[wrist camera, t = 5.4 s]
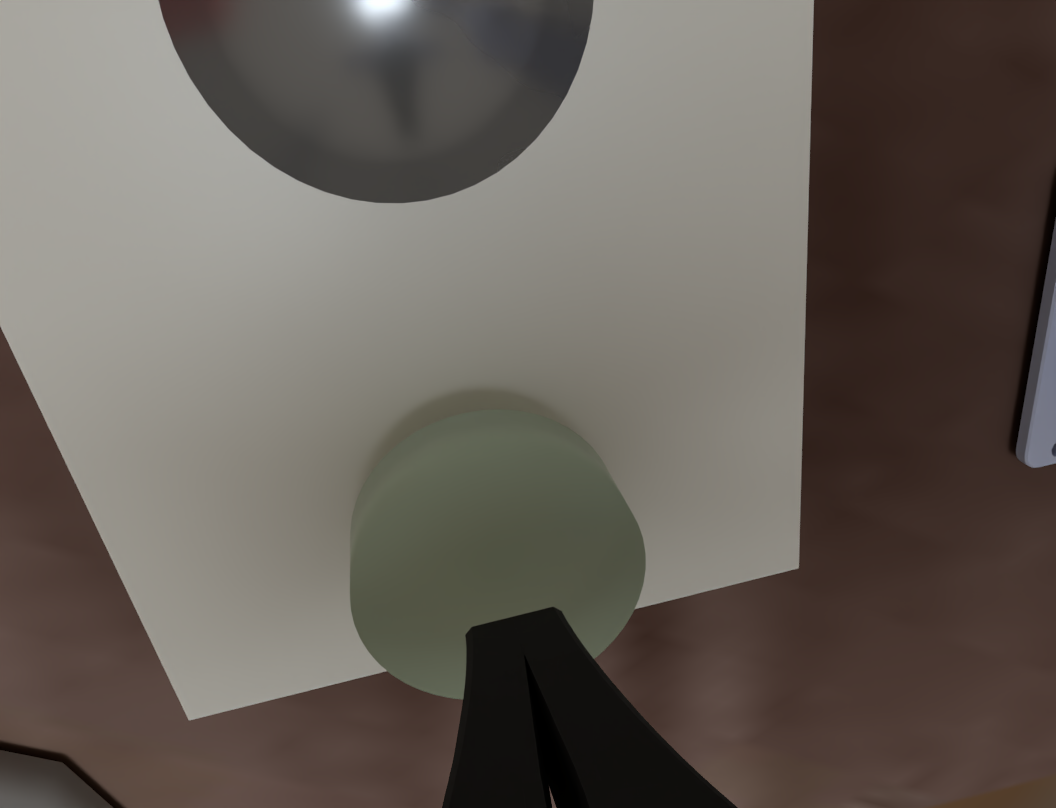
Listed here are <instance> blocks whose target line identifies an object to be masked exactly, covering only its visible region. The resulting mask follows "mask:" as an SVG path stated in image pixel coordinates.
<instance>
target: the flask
mask: <svg viewBox="0 0 1056 808" xmlns="http://www.w3.org/2000/svg"><path fill="white" fill-rule="evenodd" d="M0 808H113V807H112V806H111V805H110V804H109V803H107V802H106V801H105V800H104V799H103V798H102V797H101V796H100V795H98V794H97V793H96V792H95V791H94V790H93V789H92V788H91V787H89V786H88V785H87V784H86V783H85V782H84V781H83V780H82V779H80V778H79V777H78V776H77V775H76V774H75V773H74V772H73V771H71V770H70V769H69V768H68V767H67V766H66V765H65V764H64V763H62V762H58V761H53V760H48V759H43V758H38V757H33V756H28V755H23V754H18V753H13V752H8V751H3V750H0Z"/></svg>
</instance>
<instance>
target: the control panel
mask: <svg viewBox="0 0 1056 808" xmlns="http://www.w3.org/2000/svg"><path fill="white" fill-rule="evenodd" d="M813 12H814V0H594V1H593V13H592V19H591V24H590V29H589V34H588V39H587V44H586V47H585V50H584V53H583V56H582V59H581V62H580V66H579V69H578V71H577V73H576V76H575V78H574V80H573V82H572V84H571V87H570V89H569V91H568V93H567V95H566V97H565V99H564V100H563V102H562V104H561V105H560V107H559V109H558V110H557V112H556V114H555V115H554V117H553V118H552V120H551V121H550V122H549V123H548V125H547V126H546V127H545V129H544V130H543V131H542V132H541V134H540V135H539V136H538V137H537V139H536V140H535V141H534V142H533V143H532V144H531V145H530V146H529V147H528V148H526V149H525V150H524V151H523V152H522V153H521V154H520V155H519V156H518V157H517V158H516V159H515V160H513V161H512V162H511V163H509V164H508V165H507V166H505V167H504V168H503V169H501V170H500V171H499V172H497V173H496V174H494V175H492V176H490V177H488V178H487V179H485V180H483V181H481V182H480V183H478V184H476V185H474V186H471V187H469V188H466V189H464V190H461V191H459V192H456V193H454V194H451V195H447V196H443V197H439V198H435V199H431V200H427V201H418V202H410V203H373V202H367V201H360V200H353V199H348V198H345V197H341V196H337V195H334V194H330V193H327V192H324V191H321V190H319V189H316V188H314V187H312V186H309V185H307V184H304V183H302V182H300V181H298V180H296V179H294V178H292V177H291V176H289V175H287V174H285V173H284V172H282V171H280V170H278V169H277V168H275V167H273V166H272V165H271V164H269V163H268V162H267V161H265V160H264V159H262V158H261V157H260V156H258V155H257V154H256V153H254V152H253V151H252V150H250V149H249V148H248V147H247V146H246V145H245V144H244V143H243V142H242V141H241V140H240V139H239V138H237V137H236V136H235V135H234V134H233V133H232V132H231V131H230V130H229V129H228V128H227V127H226V126H225V125H224V123H223V122H222V121H221V120H220V119H219V117H218V116H217V115H216V114H215V113H214V112H213V110H212V109H211V108H210V107H209V106H208V104H207V103H206V101H205V100H204V98H203V97H202V95H201V94H200V92H199V91H198V89H197V88H196V87H195V85H194V84H193V82H192V81H191V79H190V77H189V75H188V74H187V72H186V70H185V68H184V66H183V64H182V62H181V60H180V58H179V56H178V54H177V52H176V50H175V48H174V46H173V43H172V40H171V38H170V35H169V32H168V30H167V27H166V25H165V22H164V19H163V16H162V12H161V8H160V4H159V1H158V0H0V327H1V329H2V331H3V333H4V335H5V337H6V339H7V341H8V343H9V345H10V347H11V350H12V352H13V354H14V356H15V358H16V360H17V362H18V364H19V366H20V368H21V370H22V373H23V375H24V377H25V379H26V381H27V383H28V385H29V387H30V389H31V391H32V393H33V396H34V398H35V400H36V402H37V404H38V406H39V408H40V410H41V412H42V414H43V416H44V419H45V421H46V423H47V425H48V427H49V429H50V431H51V433H52V435H53V437H54V439H55V442H56V444H57V446H58V448H59V450H60V452H61V454H62V456H63V458H64V460H65V462H66V465H67V467H68V469H69V471H70V473H71V475H72V477H73V479H74V481H75V483H76V485H77V488H78V490H79V492H80V494H81V496H82V498H83V500H84V502H85V504H86V506H87V508H88V511H89V513H90V515H91V517H92V519H93V521H94V523H95V525H96V527H97V529H98V531H99V534H100V536H101V538H102V540H103V542H104V544H105V546H106V548H107V550H108V552H109V554H110V557H111V559H112V561H113V563H114V565H115V567H116V569H117V571H118V573H119V575H120V577H121V580H122V582H123V584H124V586H125V588H126V590H127V592H128V594H129V596H130V598H131V600H132V602H133V605H134V607H135V609H136V611H137V613H138V615H139V617H140V619H141V621H142V623H143V625H144V628H145V630H146V632H147V634H148V636H149V638H150V640H151V642H152V644H153V646H154V648H155V651H156V653H157V655H158V657H159V659H160V661H161V663H162V665H163V667H164V669H165V671H166V674H167V676H168V678H169V680H170V682H171V684H172V686H173V688H174V690H175V692H176V694H177V697H178V699H179V701H180V703H181V705H182V707H183V709H184V711H185V713H186V715H187V717H188V720H193V719H197V718H201V717H205V716H209V715H213V714H217V713H221V712H225V711H229V710H233V709H237V708H241V707H245V706H249V705H253V704H257V703H261V702H265V701H269V700H273V699H277V698H281V697H285V696H289V695H293V694H297V693H301V692H305V691H309V690H313V689H317V688H321V687H325V686H329V685H333V684H337V683H341V682H345V681H349V680H353V679H357V678H361V677H365V676H369V675H373V674H377V673H381V672H385V671H387V670H386V669H384V668H383V667H382V666H381V665H380V664H379V663H378V662H377V661H376V660H375V659H374V658H373V657H372V655H371V654H370V653H369V652H368V650H367V649H366V647H365V646H364V644H363V642H362V641H361V639H360V637H359V635H358V632H357V630H356V627H355V625H354V621H353V617H352V612H351V606H350V530H351V521H352V514H353V511H354V507H355V503H356V500H357V498H358V496H359V493H360V491H361V489H362V487H363V485H364V483H365V482H366V480H367V478H368V477H369V475H370V474H371V472H372V471H373V469H374V468H375V467H376V466H377V464H378V463H379V462H380V461H381V460H382V458H383V457H384V456H385V455H387V454H388V453H389V452H390V451H391V450H392V449H393V448H394V447H395V446H396V445H398V444H399V443H400V442H402V441H403V440H404V439H406V438H407V437H409V436H410V435H411V434H413V433H415V432H417V431H419V430H420V429H422V428H424V427H426V426H428V425H430V424H432V423H435V422H437V421H440V420H442V419H445V418H448V417H451V416H455V415H458V414H462V413H467V412H473V411H480V410H495V409H505V410H517V411H523V412H528V413H533V414H538V415H540V416H543V417H546V418H549V419H552V420H554V421H556V422H558V423H560V424H562V425H564V426H566V427H568V428H570V429H571V430H572V431H574V432H575V433H577V434H578V435H579V436H581V437H582V438H583V439H584V440H585V441H586V442H587V443H588V444H589V445H591V446H592V447H593V449H594V450H595V451H596V452H597V454H598V455H599V456H600V458H601V459H602V461H603V462H604V464H605V466H606V468H607V469H608V471H609V473H610V475H611V476H612V478H613V480H614V482H615V483H616V485H617V487H618V489H619V491H620V492H621V494H622V496H623V498H624V499H625V501H626V503H627V505H628V506H629V508H630V510H631V512H632V514H633V515H634V517H635V519H636V521H637V523H638V525H639V528H640V531H641V534H642V537H643V541H644V547H645V553H646V570H645V577H644V584H643V587H642V591H641V594H640V597H639V600H638V602H637V605H636V607H635V609H638V608H642V607H646V606H650V605H654V604H658V603H662V602H666V601H670V600H674V599H678V598H682V597H686V596H690V595H694V594H698V593H702V592H706V591H710V590H714V589H718V588H722V587H726V586H730V585H734V584H738V583H742V582H746V581H750V580H754V579H758V578H762V577H766V576H770V575H774V574H778V573H782V572H786V571H790V570H794V569H798V568H799V541H800V503H801V465H802V428H803V390H804V352H805V314H806V276H807V239H808V201H809V163H810V125H811V87H812V50H813Z"/></svg>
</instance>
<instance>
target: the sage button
mask: <svg viewBox="0 0 1056 808" xmlns="http://www.w3.org/2000/svg"><path fill="white" fill-rule="evenodd" d="M645 570H646V553H645V547H644V541H643V537H642V534H641V531H640V528H639V525H638V523H637V521H636V519H635V517H634V515H633V514H632V512H631V510H630V508H629V506H628V505H627V503H626V501H625V499H624V498H623V496H622V494H621V492H620V491H619V489H618V487H617V485H616V483H615V482H614V480H613V478H612V476H611V475H610V473H609V471H608V469H607V468H606V466H605V464H604V462H603V461H602V459H601V458H600V456H599V455H598V454H597V452H596V451H595V450H594V449H593V447H592V446H591V445H589V444H588V443H587V442H586V441H585V440H584V439H583V438H582V437H581V436H579V435H578V434H577V433H575V432H574V431H572V430H571V429H570V428H568V427H566V426H564V425H562V424H560V423H558V422H556V421H554V420H552V419H549V418H546V417H543V416H540V415H538V414H533V413H528V412H523V411H517V410H505V409H495V410H480V411H473V412H467V413H462V414H458V415H455V416H451V417H448V418H445V419H442V420H440V421H437V422H435V423H432V424H430V425H428V426H426V427H424V428H422V429H420V430H419V431H417V432H415V433H413V434H411V435H410V436H409V437H407V438H406V439H404V440H403V441H402V442H400V443H399V444H398V445H396V446H395V447H394V448H393V449H392V450H391V451H390V452H389V453H388V454H387V455H385V456H384V457H383V458H382V460H381V461H380V462H379V463H378V464H377V466H376V467H375V468H374V469H373V471H372V472H371V474H370V475H369V477H368V478H367V480H366V482H365V483H364V485H363V487H362V489H361V491H360V493H359V496H358V498H357V500H356V503H355V507H354V511H353V514H352V521H351V530H350V606H351V612H352V617H353V621H354V625H355V627H356V630H357V632H358V635H359V637H360V639H361V641H362V642H363V644H364V646H365V647H366V649H367V650H368V652H369V653H370V654H371V655H372V657H373V658H374V659H375V660H376V661H377V662H378V663H379V664H380V665H381V666H382V667H383V668H384V669H386V670H387V671H388V672H389V673H390V674H392V675H393V676H395V677H396V678H398V679H399V680H401V681H403V682H404V683H406V684H408V685H410V686H413V687H415V688H417V689H419V690H422V691H425V692H428V693H431V694H434V695H438V696H443V697H448V698H453V699H463V697H464V688H465V677H466V637H465V634H466V633H467V632H468V631H469V630H470V628H471V627H473V626H477V625H481V624H485V623H489V622H493V621H497V620H501V619H505V618H509V617H513V616H517V615H521V614H525V613H529V612H533V611H537V610H541V609H545V608H549V607H555V608H557V609H559V610H561V611H562V613H563V614H564V616H565V618H566V620H567V621H568V623H569V625H570V626H571V628H572V629H573V631H574V632H575V634H576V635H577V637H578V638H579V640H580V641H581V642H582V644H583V645H584V647H585V648H586V649H587V651H588V652H589V653H590V655H591V656H592V657H593V659H595V658H596V657H597V656H598V655H599V654H601V653H602V652H603V651H604V650H605V649H606V648H607V647H608V646H609V645H610V644H611V643H612V642H613V641H614V639H615V638H616V637H617V636H618V634H619V633H620V632H621V631H622V629H623V628H624V626H625V625H626V623H627V622H628V620H629V618H630V617H631V615H632V613H633V611H634V609H635V607H636V605H637V602H638V600H639V597H640V594H641V591H642V587H643V584H644V577H645Z"/></svg>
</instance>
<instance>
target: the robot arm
mask: <svg viewBox="0 0 1056 808" xmlns="http://www.w3.org/2000/svg"><path fill="white" fill-rule="evenodd" d="M1016 456H1017V458H1018V459H1019V460H1020V461H1021V462H1023V463H1024V464H1026V465H1027V466H1030V467H1032V468H1037V467H1043V466H1047V465H1051V464H1055V463H1056V219H1055V225H1054V231H1053V237H1052V243H1051V248H1050V254H1049V260H1048V266H1047V272H1046V277H1045V283H1044V289H1043V295H1042V301H1041V306H1040V312H1039V318H1038V324H1037V330H1036V336H1035V341H1034V347H1033V353H1032V359H1031V365H1030V370H1029V376H1028V382H1027V388H1026V394H1025V400H1024V405H1023V411H1022V417H1021V423H1020V429H1019V434H1018V440H1017V446H1016ZM465 637H466V677H465V688H464V697H463V706H462V712H461V718H460V724H459V730H458V736H457V742H456V748H455V754H454V759H453V764H452V768H451V772H450V776H449V781H448V785H447V789H446V793H445V798H444V802H443V806H442V808H552V804H551V797H550V791H549V787H550V790H551V793H552V796H553V799H554V801H555V804H556V807H557V808H737V807H736V806H735V805H734V804H733V803H732V802H730V801H729V800H728V799H727V798H726V797H725V796H724V795H722V794H721V793H720V792H719V791H718V790H717V789H716V788H714V787H713V786H712V785H711V784H710V783H709V782H708V781H707V780H705V779H704V778H703V777H702V776H701V775H700V774H699V773H698V772H697V771H696V770H695V769H694V768H693V767H692V766H691V765H689V764H688V763H687V762H686V761H685V760H684V759H683V758H682V757H681V756H680V755H679V754H678V753H677V752H676V751H675V750H674V749H673V748H672V747H671V746H670V745H669V744H668V743H667V742H666V741H665V740H664V739H663V738H662V737H661V736H660V735H659V734H658V733H657V732H656V731H655V730H654V728H653V727H652V726H651V725H650V724H649V723H648V722H647V721H646V720H645V719H644V718H643V717H642V716H641V715H640V713H639V712H638V711H637V710H636V709H635V708H634V707H633V705H632V704H631V703H630V702H629V701H628V700H627V699H626V697H625V696H624V695H623V694H622V693H621V692H620V691H619V689H618V688H617V687H616V686H615V685H614V684H613V683H612V681H611V680H610V679H609V678H608V676H607V675H606V674H605V673H604V672H603V670H602V669H601V668H600V666H599V665H598V664H597V663H596V661H595V660H594V659H593V657H592V656H591V655H590V653H589V652H588V651H587V649H586V648H585V647H584V645H583V644H582V642H581V641H580V640H579V638H578V637H577V635H576V634H575V632H574V631H573V629H572V628H571V626H570V625H569V623H568V621H567V620H566V618H565V616H564V614H563V613H562V611H561V610H559V609H557V608H555V607H549V608H545V609H541V610H537V611H533V612H529V613H525V614H521V615H517V616H513V617H509V618H505V619H501V620H497V621H493V622H489V623H485V624H481V625H477V626H473V627H471V628H470V630H469V631H468V632H467V633H466V634H465ZM548 784H549V785H548Z"/></svg>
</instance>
